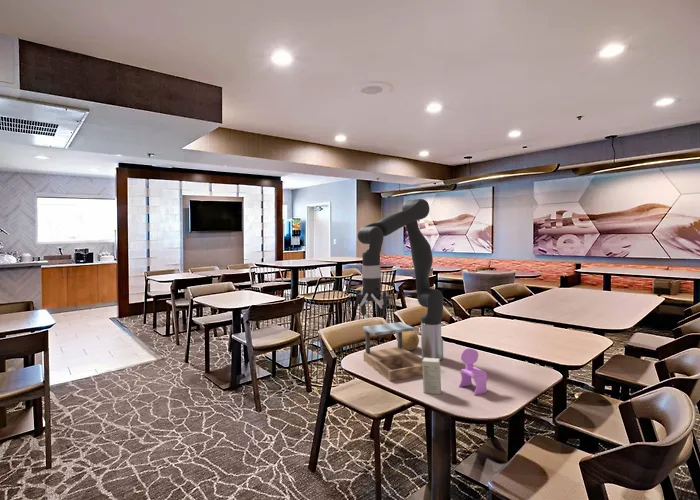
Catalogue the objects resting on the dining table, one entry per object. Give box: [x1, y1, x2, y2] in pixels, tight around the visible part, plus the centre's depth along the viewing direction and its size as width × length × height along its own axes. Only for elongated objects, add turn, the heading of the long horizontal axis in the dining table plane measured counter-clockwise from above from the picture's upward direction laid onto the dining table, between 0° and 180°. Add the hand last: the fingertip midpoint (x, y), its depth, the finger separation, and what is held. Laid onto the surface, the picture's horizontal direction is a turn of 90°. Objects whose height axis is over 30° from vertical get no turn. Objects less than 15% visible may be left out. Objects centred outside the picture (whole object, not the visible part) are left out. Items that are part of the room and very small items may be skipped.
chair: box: [458, 347, 488, 396], centre depth 140 cm, size 8×9×15 cm
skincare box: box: [422, 358, 442, 395], centre depth 139 cm, size 6×4×12 cm
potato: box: [396, 331, 420, 351], centre depth 190 cm, size 9×16×9 cm, turn 18°
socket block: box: [362, 321, 423, 382], centre depth 165 cm, size 20×26×16 cm
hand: (372, 316), depth 150 cm, fingers open, 8 cm apart
